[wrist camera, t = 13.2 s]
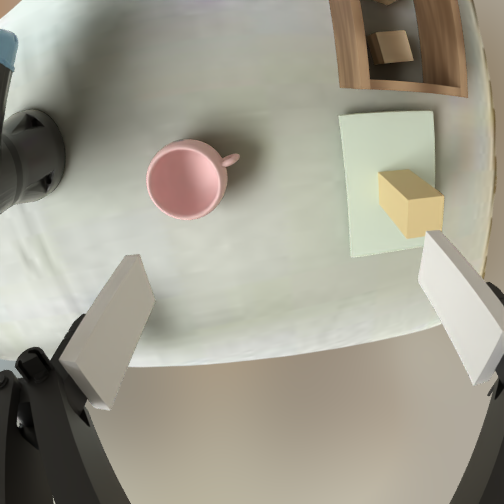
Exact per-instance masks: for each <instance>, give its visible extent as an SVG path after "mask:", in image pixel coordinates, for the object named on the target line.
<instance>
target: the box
mask: <svg viewBox="0 0 504 504" xmlns="http://www.w3.org/2000/svg"><path fill="white" fill-rule="evenodd" d="M329 3H330V10H331V16H332V23H333V30H334V38H335V46H336V54H337V63H338V73H339V83H340V88H353V89H379V90H399V91H413V92H425V93H435V94H443V95H451V96H459V97H465V98H468V89H467V70H466V57H465V47H464V38H463V31H462V24H461V17H460V11H459V6H458V1H457V0H414V6H415V11H416V18H417V24H418V32H419V40H420V48H421V58H422V70H423V83H416V82H404V81H390V80H370V76H369V65H368V55H367V46H366V38H365V30H364V23H363V16H362V10H361V4H360V0H329Z"/></svg>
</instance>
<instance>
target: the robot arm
mask: <svg viewBox="0 0 504 504" xmlns="http://www.w3.org/2000/svg"><path fill="white" fill-rule="evenodd" d="M17 48H18V38H17V36H16V35H15V34H14V33H13V32H11V31H7V30H3V29H0V214H1V213H3V212H4V211H5V210H7V209H8V208H10V207H11V206H12V205H15V204H22V203H28V202H34V201H38V200H40V199H42V198H44V197H45V196H47V195H48V194H49V193H51V192H52V191H53V190H54V189H55V188H56V187H57V185H58V184H59V182H60V180H61V177H62V175H63V171H64V166H65V149H64V143H63V139H62V136H61V133H60V131H59V129H58V127H57V126H56V124H55V123H54V121H53V120H52V119H51V118H50V117H49V116H48V115H47V114H45V113H44V112H42V111H39V110H35V109H29V110H25V111H21V112H18V113H15V114H13V115H12V116H10V117H9V118H8V119H7V120H5V121H4V115H5V108H6V102H7V97H8V92H9V87H10V82H11V77H12V73H13V72H14V70H15V68H14V62H15V57H16V53H17ZM418 283H419V284H420V286H421V288H422V289H423V291H424V293H425V294H426V296H427V298H428V299H429V301H430V303H431V305H432V306H433V308H434V310H435V312H436V313H437V315H438V317H439V319H440V321H441V322H442V324H443V326H444V328H445V330H446V332H447V333H448V335H449V337H450V339H451V341H452V343H453V345H454V347H455V349H456V351H457V353H458V355H459V357H460V359H461V361H462V363H463V365H464V367H465V369H466V371H467V373H468V376H469V378H470V380H471V382H472V384H473V386H475V385H478V384H481V383H484V382H487V381H489V379H490V378H491V376H492V375H493V373H494V371H496V372H497V375H498V379H497V380H496V382H495V383H494V385H493V386H492V388H491V389H490V391H489V393H488V396H490V394H491V393H492V392H493V393H492V397H491V401H490V404H489V408H488V411H487V414H486V417H485V420H484V423H483V426H482V429H481V432H480V435H479V438H478V441H477V443H476V446H475V449H474V451H473V454H472V456H471V459H470V461H469V464H468V466H467V468H466V471H465V473H464V475H463V477H462V479H461V481H460V484H459V486H458V488H457V490H456V492H455V494H454V496H453V498H452V500H451V502H450V504H504V294H503V293H502V292H501V290H500V289H499V288H497V287H496V286H495V285H493V284H492V283H490V282H485V281H484V280H483V279H482V277H481V276H480V275H479V274H478V273H477V271H476V270H475V269H474V268H473V267H472V265H471V264H470V263H469V262H468V261H467V260H466V258H465V257H464V256H463V255H462V254H461V253H460V252H459V251H458V249H457V248H456V247H455V246H454V245H453V244H452V243H451V242H450V241H449V239H448V238H447V237H446V236H445V235H444V234H443V233H442V232H441V231H440V230H432V231H426V234H425V241H424V247H423V254H422V259H421V265H420V270H419V276H418ZM155 302H156V300H155V297H154V295H153V292H152V289H151V286H150V283H149V281H148V278H147V275H146V272H145V269H144V266H143V263H142V260H141V257H140V254H136V255H126V256H125V257H124V259H123V260H122V261H121V263H120V264H119V266H118V267H117V268H116V270H115V271H114V273H113V274H112V276H111V277H110V279H109V280H108V282H107V283H106V285H105V286H104V287H103V289H102V290H101V292H100V293H99V295H98V297H97V298H96V300H95V301H94V303H93V304H92V306H91V307H90V309H89V310H88V312H87V314H82V315H81V316H80V317H79V318H78V319H77V320H75V321H74V323H73V324H72V326H71V327H70V329H69V332H67V334H66V335H65V337H64V339H63V340H62V342H61V343H60V345H59V347H58V348H57V350H56V352H55V353H54V355H53V357H52V359H51V360H49V359H48V357H47V356H46V354H45V353H44V351H43V350H42V349H41V348H39V347H32V348H29V349H27V350H25V351H24V352H23V353H22V354H21V355H20V356H19V357H18V359H17V361H16V364H15V368H16V369H17V370H18V371H19V373H20V374H21V375H22V376H23V378H16V376H15V375H14V374H13V372H12V371H10V370H4V371H1V372H0V504H54V503H53V498H54V501H55V503H56V504H131V503H130V501H129V499H128V498H127V496H126V494H125V492H124V490H123V488H122V487H121V485H120V483H119V481H118V479H117V477H116V475H115V473H114V471H113V469H112V466H111V464H110V463H109V460H108V458H107V456H106V453H105V451H104V449H103V447H102V444H101V442H100V440H99V437H98V435H97V432H96V430H95V427H94V425H93V422H92V420H91V417H90V415H89V412H88V410H87V409H86V407H85V403H86V401H87V399H88V400H89V402H90V403H91V404H92V405H93V406H94V408H98V409H104V410H111V409H112V406H113V403H114V401H115V398H116V396H117V393H118V390H119V388H120V385H121V383H122V380H123V377H124V375H125V372H126V370H127V368H128V365H129V363H130V360H131V358H132V355H133V353H134V351H135V348H136V346H137V343H138V341H139V339H140V336H141V334H142V332H143V329H144V327H145V325H146V322H147V320H148V318H149V315H150V313H151V311H152V309H153V306H154V304H155ZM17 420H18V421H19V422H20V426H19V427H17Z"/></svg>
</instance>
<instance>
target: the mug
mask: <svg viewBox="0 0 504 504" xmlns="http://www.w3.org/2000/svg"><path fill="white" fill-rule="evenodd" d="M239 158H240V155H239V154H231V155H228V156H226V157H224V158H222V157H221V156H220V154H219V153H218V152H217V151H216V150H215V149H214V148H213V147H211V146H210V145H208V144H206V143H204V142H202V141H199V140H193V139H182V140H178V141H174V142H172V143H170V144H168V145H166V146H165V147H163V148H162V149H161V150H160V151H158V152H157V154H156V155H155V156H154V157H153V159H152V161H151V163H150V165H149V167H148V170H147V175H146V184H147V189H148V193H149V195H150V197H151V199H152V201H153V202H154V204H155V205H156V206H157V207H158V208H159V209H160V210H161V211H162V212H164V213H165V214H167V215H169V216H171V217H174V218H177V219H181V220H193V219H198V218H201V217H203V216H205V215H207V214H208V213H210V212H211V211H213V210H214V209H215V208H216V207H217V205H218V204H219V203H220V201H221V199H222V198H223V196H224V193H225V190H226V187H227V180H228V177H227V169H226V167H228V166H230V165H232V164H234V163H235V162H236V161H238V160H239Z"/></svg>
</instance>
